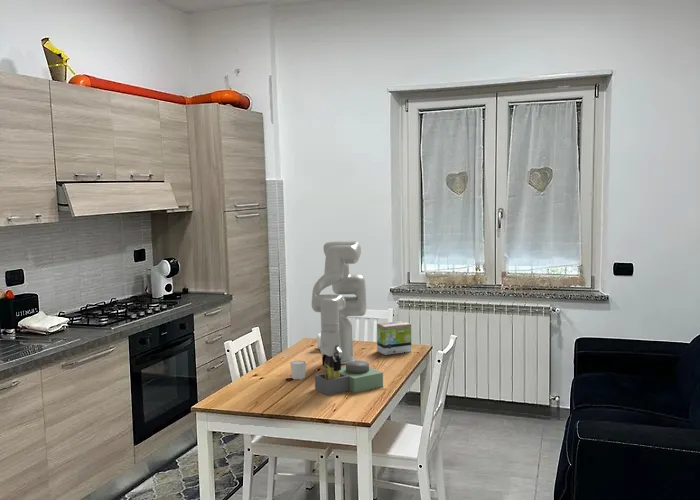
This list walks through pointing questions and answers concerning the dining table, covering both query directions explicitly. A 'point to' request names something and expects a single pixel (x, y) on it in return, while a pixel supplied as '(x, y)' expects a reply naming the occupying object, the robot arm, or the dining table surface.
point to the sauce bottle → (330, 368)
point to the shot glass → (298, 369)
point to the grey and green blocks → (350, 379)
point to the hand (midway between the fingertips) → (331, 367)
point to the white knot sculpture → (318, 340)
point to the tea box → (393, 337)
